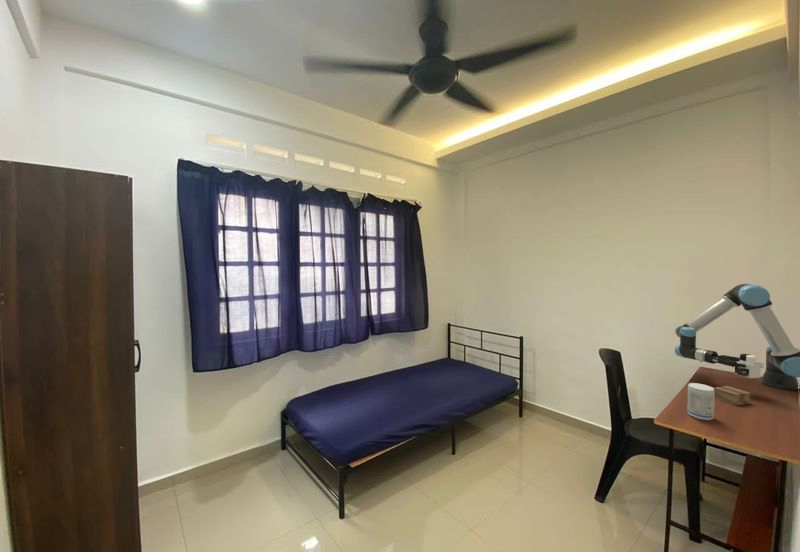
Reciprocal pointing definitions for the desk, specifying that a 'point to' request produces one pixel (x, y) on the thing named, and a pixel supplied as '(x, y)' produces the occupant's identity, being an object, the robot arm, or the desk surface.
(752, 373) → the medicine bottle
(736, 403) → the walnut block
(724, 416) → the desk surface
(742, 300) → the robot arm
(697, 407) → the supplement tub
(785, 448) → the desk surface
